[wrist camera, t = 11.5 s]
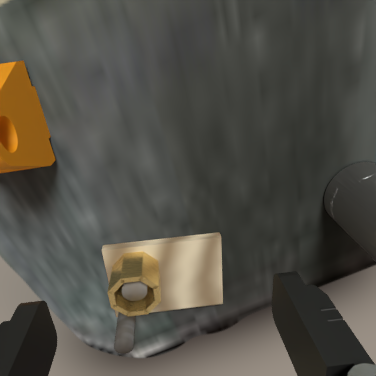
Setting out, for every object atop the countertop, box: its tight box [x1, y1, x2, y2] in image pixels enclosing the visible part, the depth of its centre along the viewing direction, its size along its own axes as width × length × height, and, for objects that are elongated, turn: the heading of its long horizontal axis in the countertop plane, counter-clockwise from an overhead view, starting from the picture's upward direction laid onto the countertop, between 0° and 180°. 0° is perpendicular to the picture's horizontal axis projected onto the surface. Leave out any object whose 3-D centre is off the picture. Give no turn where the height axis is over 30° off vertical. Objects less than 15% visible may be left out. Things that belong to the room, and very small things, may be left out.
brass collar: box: [108, 251, 161, 317], centre depth 41 cm, size 6×6×5 cm
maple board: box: [102, 232, 223, 354], centre depth 42 cm, size 16×12×8 cm
